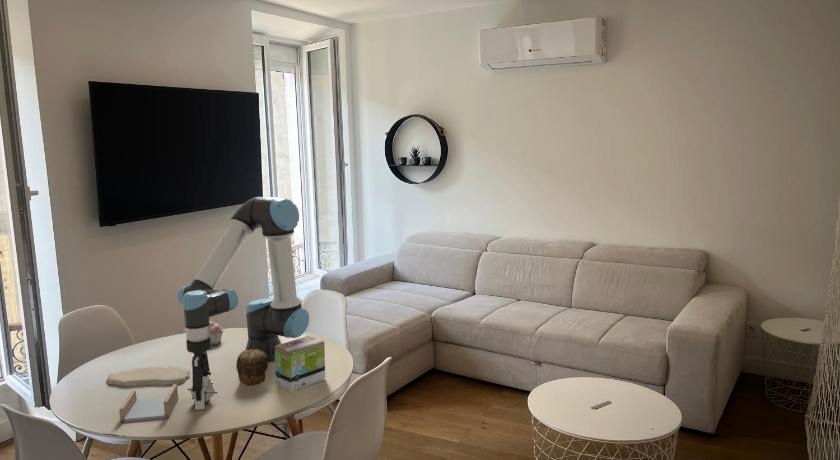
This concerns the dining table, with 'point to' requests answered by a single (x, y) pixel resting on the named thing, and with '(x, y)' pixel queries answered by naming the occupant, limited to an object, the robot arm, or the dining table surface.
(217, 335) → the cupcake
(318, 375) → the tea box
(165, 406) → the track
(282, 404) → the dining table surface
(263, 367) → the woven dome ornament
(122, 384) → the stone tablet
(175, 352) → the dining table surface
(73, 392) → the dining table surface
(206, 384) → the game die
